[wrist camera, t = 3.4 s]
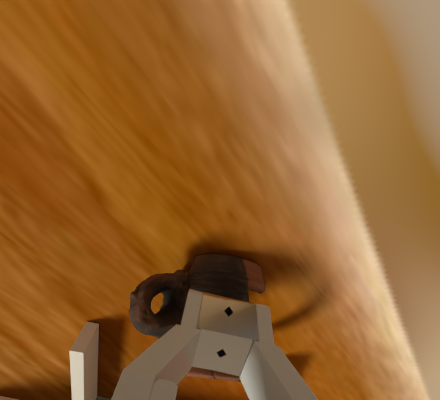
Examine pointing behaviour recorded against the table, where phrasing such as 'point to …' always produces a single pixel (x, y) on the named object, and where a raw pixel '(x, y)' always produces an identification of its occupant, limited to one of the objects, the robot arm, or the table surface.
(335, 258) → the table surface
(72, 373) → the display stand
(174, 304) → the pottery mug
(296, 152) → the table surface
